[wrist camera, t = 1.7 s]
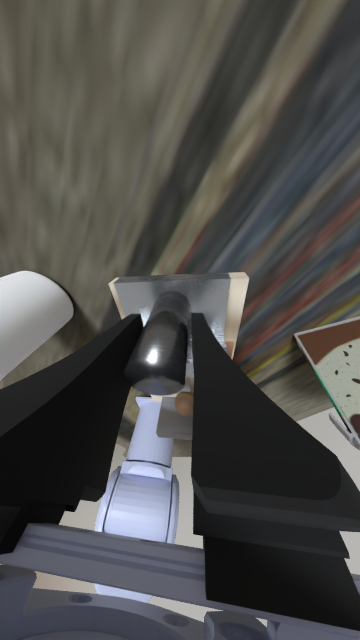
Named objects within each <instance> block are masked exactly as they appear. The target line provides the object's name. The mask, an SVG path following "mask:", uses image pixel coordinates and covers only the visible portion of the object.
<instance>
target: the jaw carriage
mask: <svg viewBox="0 0 360 640" xmlns="http://www.w3.org/2000/svg"><path fill="white" fill-rule="evenodd" d="M230 283H231V277H230V276H229V274H228V272H224V273H202V274H179V275H157V276H134V277H120V278H119V279H118V280H116V281H115V282H114V283H113V284H114V286H115V289H116V292H117V295H118V298H119V301H120V303H121V306H122V309H123V312H124V315H125V317H127V316H128V315H130V314H141V318H142V321H143V325H144V328H143V330H142V333H141V335H140V337H139V339H138V341H137V344H136V346H135V348H134V350H133V352H132V355H131V357H130V359H129V361H128V364H127V366H126V368H125V370H124V377H125V379H126V381H127V382H128V383H129V384H130V385H131V386H132V387H134V388H135V389H137V390H139V391H141V392H144V393H147V394H151V395H158V396H166V395H172V394H175V393H178V392H179V391H181V390H182V389H183V388H184V386H185V378H186V376H190V377H194V369H193V357H192V335H191V313H203V314H204V316H205V319H206V321H207V323H208V325H209V327H210V329H211V331H212V332H213V334H214V335H215V337H216V339H217V340H218V342H219V343H220V344H221V346H222V347H223V349H224V350H225V351H226V353H227V354H228V350H227V346H226V342H225V337H224V328H225V321H226V313H227V305H228V298H229V290H230Z"/></svg>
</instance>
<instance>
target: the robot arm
mask: <svg viewBox="0 0 360 640" xmlns="http://www.w3.org/2000/svg"><path fill="white" fill-rule="evenodd" d="M143 328H144V325H143V321H142V318H141V314H130V315H128V316H127V317H125V318H124V319H122V320H121V321H120V322H118V323H117V324H115V325H114V326H113V327H111V328H110V329H109V330H107V331H106V332H104V333H103V334H102V335H100V336H99V337H97V338H96V339H94V340H93V341H91V342H90V343H88V344H87V345H85V346H84V347H82V348H81V349H79V350H77V351H76V352H74V353H72V354H71V355H69V356H67V357H65V358H64V359H62V360H60V361H58V362H56V363H54V364H52V365H50V366H49V367H47V368H45V369H43V370H41V371H39V372H37V373H35V374H33V375H31V376H29V377H27V378H25V379H22V380H20V381H18V382H16V383H14V384H12V385H9V386H7V387H5V388H3V389H0V563H1V564H5V565H0V640H360V575H356V574H350V571H349V569H348V567H347V564H346V562H345V560H344V558H348V559H349V553H348V550H347V548H346V546H345V544H344V541H343V539H342V537H341V535H340V532H339V531H349V532H360V491H359V490H358V488H357V487H356V485H355V483H354V482H353V480H352V479H351V477H350V476H349V474H348V473H347V471H346V470H345V468H344V467H343V466H342V464H341V462H340V461H339V459H338V458H337V456H336V455H335V454H334V453H332V452H331V451H330V450H329V449H327V448H326V447H325V446H324V445H323V444H322V443H320V442H319V441H318V440H317V439H315V438H314V437H313V436H312V435H311V434H309V433H308V432H307V431H306V430H305V429H303V428H302V427H301V426H300V425H299V424H298V423H297V422H295V421H294V420H293V419H292V418H291V417H290V416H288V415H287V414H286V413H285V412H284V411H283V410H282V409H281V408H280V407H278V406H277V405H276V404H275V403H274V402H273V401H272V400H271V399H270V398H269V397H268V396H267V395H266V394H265V393H263V392H262V391H261V390H260V389H259V388H258V387H257V386H256V385H255V384H254V383H253V382H252V381H251V380H250V379H249V378H248V377H247V376H246V375H245V373H244V372H243V371H242V370H241V369H240V368H239V367H238V366H237V365H236V363H235V362H234V361H233V360H232V359H231V358H230V356H229V355H228V354H227V353H226V351H225V350H224V349H223V347H222V346H221V344H220V343H219V342H218V340H217V339H216V337H215V335H214V334H213V332H212V331H211V329H210V327H209V325H208V323H207V321H206V319H205V316H204V314H203V313H191V335H192V357H193V369H194V394H193V430H192V463H191V464H192V465H191V477H192V484H193V490H194V508H193V511H194V512H193V515H194V516H193V534H195V535H201V536H203V549H200V548H194V547H189V546H182V545H177V544H174V543H175V537H176V531H177V522H178V509H179V482H178V479H177V478H176V475H173V474H172V470H173V469H172V468H171V462H172V453H173V443H174V439H172V438H160V437H158V436H157V434H156V430H157V424H158V419H159V413H160V407H161V402H153V400H152V397H136V399H135V400H136V402H137V403H138V405H139V407H140V412H139V415H138V419H137V422H136V426H135V429H134V433H133V437H132V440H131V444H130V447H129V451H128V454H127V458H126V461H123V464H122V466H118V467H117V469H115V470H114V471H113V473H112V474H111V476H110V479H109V481H108V476H109V472H110V467H111V461H112V457H113V452H114V448H115V444H116V440H117V435H118V431H119V427H120V423H121V419H122V415H123V411H124V408H125V404H126V401H127V397H128V394H129V391H130V388H131V385H130V384H129V383H128V382H127V381H126V379H125V377H124V370H125V368H126V366H127V364H128V361H129V359H130V357H131V355H132V352H133V350H134V348H135V346H136V344H137V341H138V339H139V337H140V335H141V333H142V330H143ZM107 481H108V483H107ZM102 496H103V498H102V501H101V504H100V508H99V511H98V515H97V519H96V524H95V529H94V531H92V530H87V529H80V528H74V527H68V526H63V525H59V523H60V520H61V518H62V516H63V514H64V511H71V512H75V510H76V508H77V506H78V503H79V501H80V500H86V501H93V502H97V501H98V500H99V499H100V498H101V497H102ZM34 571H38V572H43V573H48V574H53V575H57V576H62V577H67V578H71V579H76V580H81V581H86V582H90V583H94V586H95V588H96V592H97V594H90V593H79V592H68V591H58V590H46V589H36V588H32V587H33V585H34V583H35V580H36V578H37V577H36V573H35V572H34ZM152 596H157V597H162V598H166V599H171V600H177V601H180V602H185V603H190V604H195V605H199V606H204V607H209V608H214V609H218V610H223V611H214V612H213V611H211V612H207V613H206V615H205V617H204V623H203V622H201V621H198V620H195V619H192V618H190V617H187V616H184V615H181V614H179V613H176V612H173V611H171V610H168V609H165V608H162V607H159V606H155V605H152V604H148V601H149V600H150V599H151V598H152ZM255 617H256V618H261V619H266V620H268V622H267V628H266V627H265V626H264V625H263V624H262V623H261V622H260V621H259V620H258V619H256V618H255Z"/></svg>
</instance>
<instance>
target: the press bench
mask: <svg viewBox="0 0 360 640" xmlns="http://www.w3.org/2000/svg"><path fill="white" fill-rule="evenodd" d="M228 274H229V276H230V277H231V283H230V290H229V298H228V305H227V313H226V321H225V328H224V337H225V342H226V346H227V350H228V355H229V356H230V358H231V359H233V354H234V350H235V345H236V340H237V335H238V330H239V325H240V321H241V316H242V311H243V306H244V301H245V296H246V292H247V287H248V282H249V277H248V276H247V275H246V274H245V272H236V273H228ZM118 279H119V278H115V279H114V280H113V281H112V282H110V283H109V286H110V289H111V291H112V294H113V297H114V299H115V302H116V305H117V307H118V310H119V313H120V315H121V318H122V319H124V318H125V315H124V312H123V309H122V306H121V303H120V301H119V298H118V295H117V292H116V289H115V286H114V284H113V283H114V282H115V281H116V280H118ZM193 394H194V377H190V376H186V378H185V386H184V388H183V389H182V390H181V391H179V392H178V393H175V394H172V395H166V396H158V395H151V394H150V395H151V397H152V400H153V402H161V407H160V413H159V419H158V424H157V430H156V434H157V436H158V437H160V438H172V439H184V440H192V430H193Z"/></svg>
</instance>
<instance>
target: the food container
mask: <svg viewBox="0 0 360 640" xmlns="http://www.w3.org/2000/svg"><path fill="white" fill-rule="evenodd" d="M294 338H295V341H296V343H297V344H298V346H299V348H300V349H301V351H302V353H303V354H304V356H305V358H306V360H307V361H308V363H309V365H310V366H311V368H312V370H313V371H314V373H315V375H316V377H317V378H318V380H319V382H320V383H321V385H322V387H323V388H324V390H325V392H326V394H327V395H328V397H329V399H330V400H331V402H332V404H333V405H334V407H335V409H336V410H337V412H338V414H339V416H340V417H341V419H342V421H343V422H344V424H345V426H346V427H347V429H348V430H347V429H345V428H344V426H343V425H342V424H341V423H340V422H339V421H338V420H337V419H336V418H335V417H334V416H333V415H332V414H331V413H329V418H330V420H331V421H332V423H333V424H334V425H335V426H336V427H337V429H338V430H339V431H340V432H341V433H342V434H343V435H344V436H345V438H346V439H347V440H348V441H349V442H350V443H351V444H352V445H353V446H354V447H355V448H357V449H359V450H360V316H359V317H356V318H352V319H348V320H344V321H340V322H337V323H333V324H329V325H325V326H322V327H318V328H314V329H310V330H307V331H303V332H299V333H295V334H294Z"/></svg>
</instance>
